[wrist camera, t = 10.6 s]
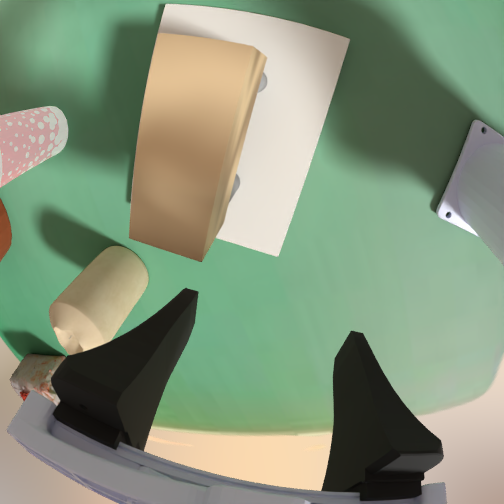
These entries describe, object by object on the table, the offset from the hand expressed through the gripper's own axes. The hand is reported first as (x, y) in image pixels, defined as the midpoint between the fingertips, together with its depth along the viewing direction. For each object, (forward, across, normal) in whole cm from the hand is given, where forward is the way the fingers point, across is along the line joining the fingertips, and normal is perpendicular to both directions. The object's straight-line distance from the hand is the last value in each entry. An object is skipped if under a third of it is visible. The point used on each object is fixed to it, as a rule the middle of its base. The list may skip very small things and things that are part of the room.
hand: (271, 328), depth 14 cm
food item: (+11, +30, +35) cm, 47 cm away
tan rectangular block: (+6, +6, -6) cm, 11 cm away
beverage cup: (+11, +22, -4) cm, 25 cm away
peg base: (+10, +6, -6) cm, 13 cm away
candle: (+11, +13, +8) cm, 19 cm away
